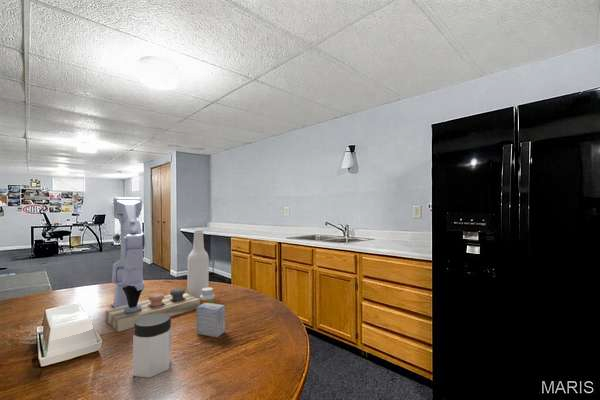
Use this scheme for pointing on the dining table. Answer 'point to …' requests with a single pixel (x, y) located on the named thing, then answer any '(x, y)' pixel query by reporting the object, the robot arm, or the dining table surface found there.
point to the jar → (151, 345)
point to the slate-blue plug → (132, 309)
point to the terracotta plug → (156, 299)
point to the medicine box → (211, 319)
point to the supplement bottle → (207, 296)
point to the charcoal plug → (177, 294)
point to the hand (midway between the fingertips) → (132, 306)
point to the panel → (150, 311)
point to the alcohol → (197, 266)
